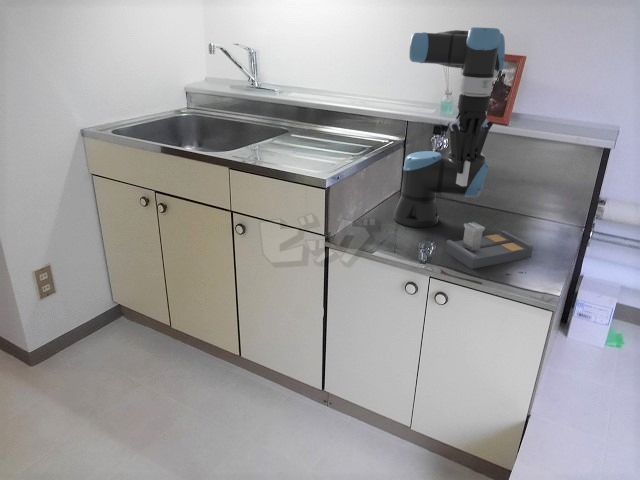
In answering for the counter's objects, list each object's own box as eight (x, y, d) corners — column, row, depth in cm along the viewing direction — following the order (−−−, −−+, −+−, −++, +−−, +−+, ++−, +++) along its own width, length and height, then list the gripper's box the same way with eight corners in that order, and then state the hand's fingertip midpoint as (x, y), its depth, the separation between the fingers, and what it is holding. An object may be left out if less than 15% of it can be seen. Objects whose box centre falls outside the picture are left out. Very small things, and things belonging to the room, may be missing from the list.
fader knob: (460, 245, 150) (464, 222, 147) (470, 243, 151) (474, 221, 149) (471, 251, 146) (474, 228, 143) (481, 249, 148) (485, 227, 145)
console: (445, 252, 154) (446, 240, 152) (502, 241, 162) (504, 230, 161) (471, 269, 144) (473, 256, 142) (530, 257, 152) (533, 245, 151)
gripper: (463, 97, 123) (450, 191, 132) (505, 95, 128) (489, 186, 137) (444, 92, 129) (432, 182, 139) (485, 91, 134) (471, 178, 144)
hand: (461, 184), depth 138 cm, fingers closed
